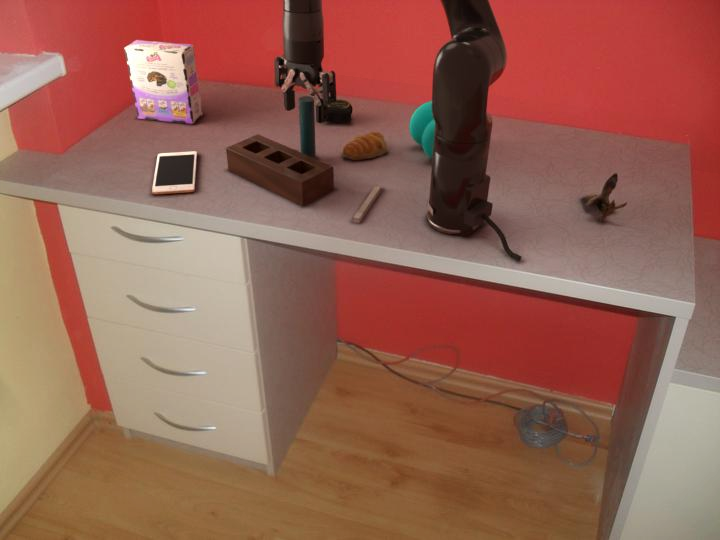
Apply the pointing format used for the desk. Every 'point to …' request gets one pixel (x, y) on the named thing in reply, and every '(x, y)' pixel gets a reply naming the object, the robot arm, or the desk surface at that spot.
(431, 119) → the turquoise lobed shape
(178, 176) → the cell phone
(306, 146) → the peg
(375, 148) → the pastry
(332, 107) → the tape measure
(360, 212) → the beige square stick
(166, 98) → the candy box
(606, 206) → the eagle figurine
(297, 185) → the hole block
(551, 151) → the desk surface
